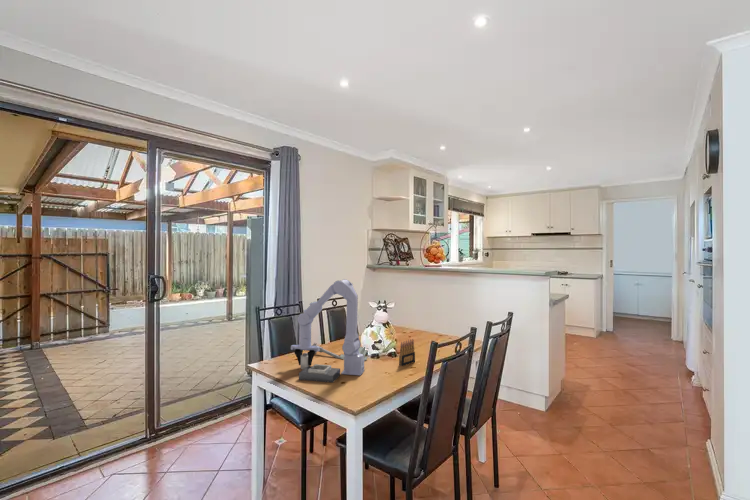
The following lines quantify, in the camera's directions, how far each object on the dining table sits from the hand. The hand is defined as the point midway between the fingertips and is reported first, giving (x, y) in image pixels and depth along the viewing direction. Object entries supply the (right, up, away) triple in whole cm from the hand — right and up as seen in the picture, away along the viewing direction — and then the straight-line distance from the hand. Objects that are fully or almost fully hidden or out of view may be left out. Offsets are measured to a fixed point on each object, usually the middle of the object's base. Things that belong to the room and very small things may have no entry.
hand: (305, 365), depth 176 cm
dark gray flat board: (+9, -1, -13) cm, 16 cm away
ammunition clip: (+51, -2, +8) cm, 52 cm away
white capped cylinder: (0, -1, 0) cm, 1 cm away
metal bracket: (+24, -2, +20) cm, 31 cm away
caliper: (+8, -2, +21) cm, 23 cm away
